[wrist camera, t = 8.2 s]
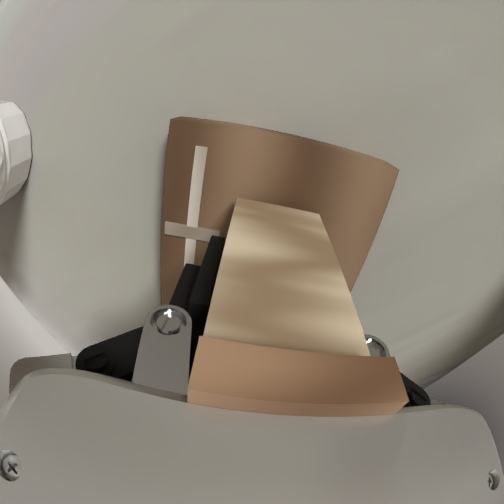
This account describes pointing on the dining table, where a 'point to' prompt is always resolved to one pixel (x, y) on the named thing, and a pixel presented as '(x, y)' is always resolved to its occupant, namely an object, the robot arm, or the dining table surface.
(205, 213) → the marking board
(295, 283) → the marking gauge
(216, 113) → the dining table surface
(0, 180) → the white cup
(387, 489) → the robot arm
